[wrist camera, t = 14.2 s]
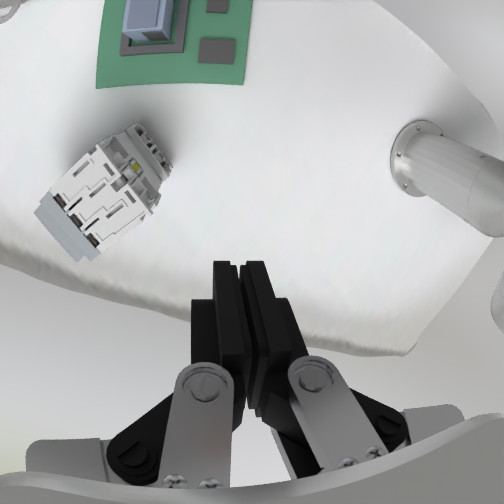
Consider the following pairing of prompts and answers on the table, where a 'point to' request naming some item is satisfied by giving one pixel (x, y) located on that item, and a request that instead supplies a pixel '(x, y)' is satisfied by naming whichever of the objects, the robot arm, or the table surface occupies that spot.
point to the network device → (12, 0)
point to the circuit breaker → (105, 193)
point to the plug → (148, 20)
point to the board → (177, 46)
